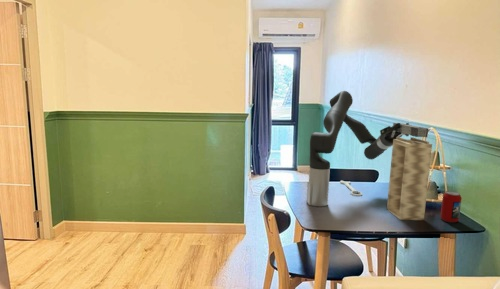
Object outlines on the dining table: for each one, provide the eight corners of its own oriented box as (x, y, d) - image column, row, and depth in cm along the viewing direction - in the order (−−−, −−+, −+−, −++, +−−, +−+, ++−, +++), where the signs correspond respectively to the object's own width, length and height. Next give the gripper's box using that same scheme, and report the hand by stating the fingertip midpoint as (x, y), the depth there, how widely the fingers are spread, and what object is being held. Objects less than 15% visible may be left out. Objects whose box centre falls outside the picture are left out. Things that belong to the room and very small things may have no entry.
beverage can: (458, 224, 143) (461, 196, 141) (439, 221, 146) (442, 193, 144) (458, 219, 148) (462, 192, 146) (440, 216, 152) (443, 189, 150)
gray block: (416, 136, 140) (417, 128, 140) (391, 130, 162) (392, 122, 161) (427, 137, 140) (428, 128, 140) (401, 130, 162) (401, 123, 162)
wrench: (348, 183, 206) (338, 183, 206) (349, 180, 205) (338, 179, 205) (363, 197, 178) (351, 196, 178) (363, 193, 178) (352, 192, 178)
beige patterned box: (400, 219, 146) (408, 141, 141) (386, 209, 159) (393, 136, 154) (423, 220, 147) (432, 141, 142) (408, 209, 159) (415, 137, 154)
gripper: (372, 131, 172) (387, 116, 156) (400, 132, 173) (418, 117, 157) (374, 146, 169) (389, 132, 153) (402, 146, 170) (420, 133, 154)
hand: (403, 124), depth 155 cm, fingers closed on gray block, 3 cm apart
